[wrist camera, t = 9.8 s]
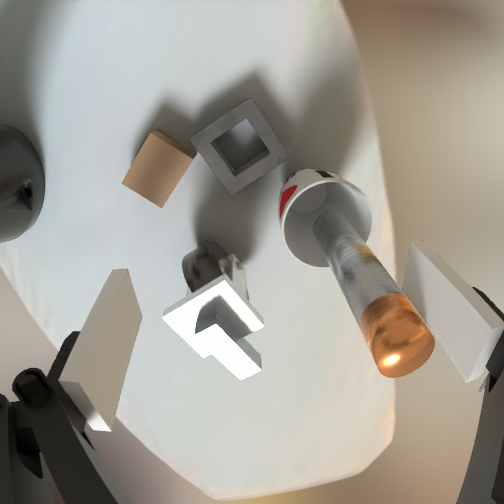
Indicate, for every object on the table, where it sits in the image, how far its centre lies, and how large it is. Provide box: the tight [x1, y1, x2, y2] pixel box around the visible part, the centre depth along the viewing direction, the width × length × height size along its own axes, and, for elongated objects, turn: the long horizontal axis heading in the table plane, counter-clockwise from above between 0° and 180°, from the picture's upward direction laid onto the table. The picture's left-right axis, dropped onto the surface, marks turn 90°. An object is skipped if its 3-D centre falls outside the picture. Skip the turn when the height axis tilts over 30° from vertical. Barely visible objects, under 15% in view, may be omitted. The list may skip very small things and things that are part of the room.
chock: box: [122, 129, 197, 208], centre depth 32 cm, size 5×6×4 cm
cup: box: [278, 168, 374, 269], centre depth 31 cm, size 8×8×10 cm
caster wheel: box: [163, 241, 264, 380], centre depth 33 cm, size 10×7×13 cm
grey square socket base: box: [190, 98, 291, 196], centre depth 31 cm, size 7×7×3 cm
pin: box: [313, 211, 435, 378], centre depth 20 cm, size 3×3×15 cm
